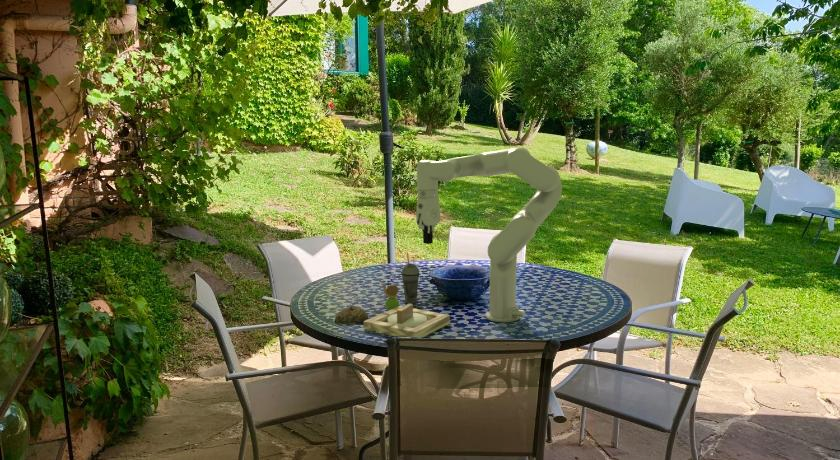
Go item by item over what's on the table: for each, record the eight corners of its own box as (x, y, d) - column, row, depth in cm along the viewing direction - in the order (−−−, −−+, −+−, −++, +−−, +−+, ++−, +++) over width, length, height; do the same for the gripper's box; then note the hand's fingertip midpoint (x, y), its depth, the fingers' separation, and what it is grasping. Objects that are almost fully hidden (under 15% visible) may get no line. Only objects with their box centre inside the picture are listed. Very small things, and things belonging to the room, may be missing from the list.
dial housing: (449, 323, 236) (449, 314, 235) (415, 340, 218) (415, 331, 217) (400, 313, 248) (399, 305, 247) (363, 329, 230) (363, 320, 229)
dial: (398, 315, 242) (397, 298, 241) (433, 319, 236) (433, 302, 235) (380, 326, 229) (380, 308, 228) (417, 331, 224) (417, 312, 223)
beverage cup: (417, 304, 260) (417, 254, 257) (400, 303, 262) (399, 254, 258) (421, 299, 267) (421, 251, 264) (404, 298, 269) (403, 250, 265)
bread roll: (368, 324, 237) (367, 311, 236) (333, 325, 236) (333, 312, 235) (368, 313, 249) (368, 301, 248) (335, 314, 248) (335, 302, 248)
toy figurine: (383, 308, 254) (382, 278, 252) (399, 308, 254) (399, 278, 252) (381, 313, 249) (381, 282, 247) (398, 313, 249) (398, 282, 247)
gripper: (425, 196, 232) (425, 247, 235) (446, 192, 244) (447, 240, 247) (407, 195, 236) (408, 245, 239) (430, 191, 248) (430, 239, 252)
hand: (428, 243), depth 243 cm, fingers closed
